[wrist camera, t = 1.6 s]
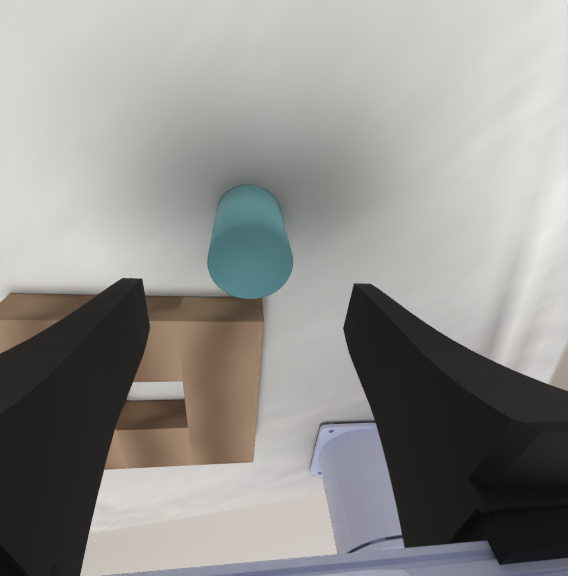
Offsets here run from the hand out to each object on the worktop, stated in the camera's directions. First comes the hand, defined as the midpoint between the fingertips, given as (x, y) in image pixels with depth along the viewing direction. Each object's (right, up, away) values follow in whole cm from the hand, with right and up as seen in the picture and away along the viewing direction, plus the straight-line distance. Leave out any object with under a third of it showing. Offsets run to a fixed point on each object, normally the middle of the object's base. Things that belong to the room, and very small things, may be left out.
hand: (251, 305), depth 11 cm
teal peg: (-1, +5, +7) cm, 8 cm away
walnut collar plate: (-8, -6, +13) cm, 17 cm away
